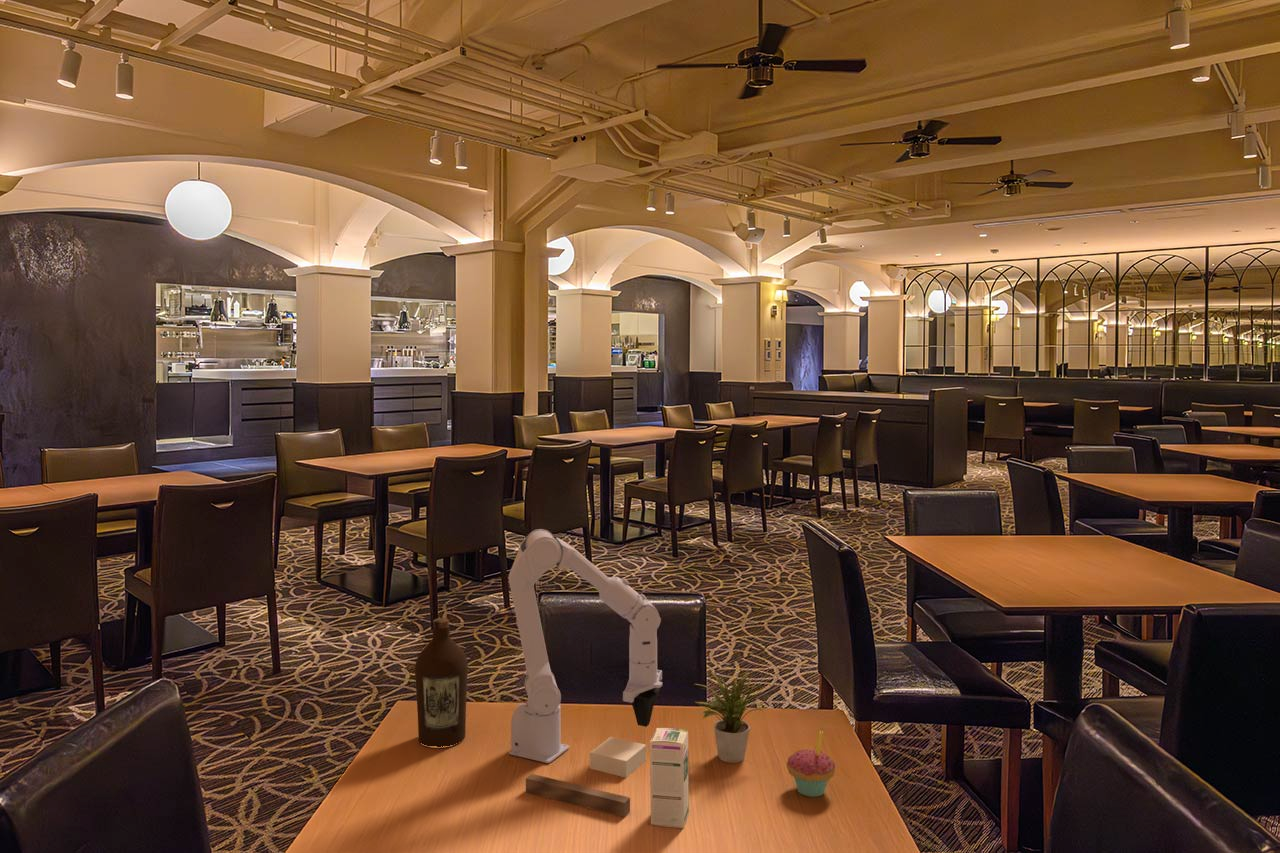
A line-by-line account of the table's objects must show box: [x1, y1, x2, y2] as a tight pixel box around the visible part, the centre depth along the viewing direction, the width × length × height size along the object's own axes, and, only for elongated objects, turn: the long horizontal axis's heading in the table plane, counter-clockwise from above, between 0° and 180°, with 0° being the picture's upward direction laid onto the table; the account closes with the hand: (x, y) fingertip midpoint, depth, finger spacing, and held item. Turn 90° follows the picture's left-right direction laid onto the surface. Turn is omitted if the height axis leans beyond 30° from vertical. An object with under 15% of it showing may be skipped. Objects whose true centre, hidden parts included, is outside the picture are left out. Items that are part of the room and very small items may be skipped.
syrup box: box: [649, 727, 690, 829], centre depth 140 cm, size 6×6×14 cm
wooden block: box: [589, 736, 647, 779], centre depth 160 cm, size 8×8×4 cm
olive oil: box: [414, 617, 469, 747], centre depth 171 cm, size 11×11×25 cm
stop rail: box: [525, 773, 631, 818], centre depth 146 cm, size 20×2×2 cm, turn 64°
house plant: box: [694, 671, 765, 764], centre depth 164 cm, size 14×14×16 cm
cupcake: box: [786, 727, 836, 798], centre depth 149 cm, size 9×8×12 cm
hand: (643, 724), depth 170 cm, fingers closed
